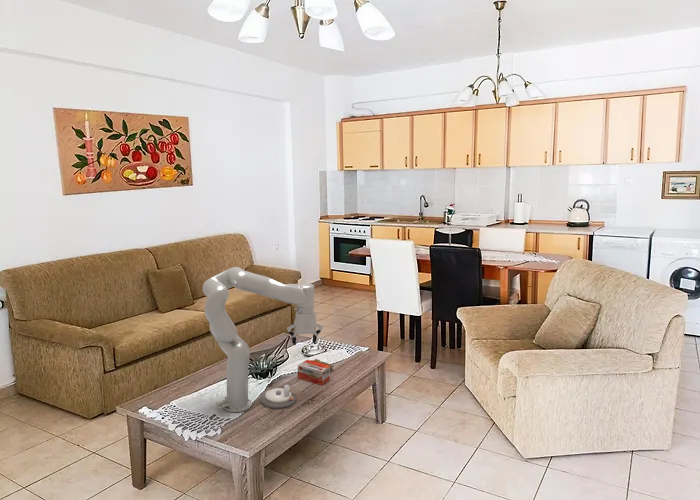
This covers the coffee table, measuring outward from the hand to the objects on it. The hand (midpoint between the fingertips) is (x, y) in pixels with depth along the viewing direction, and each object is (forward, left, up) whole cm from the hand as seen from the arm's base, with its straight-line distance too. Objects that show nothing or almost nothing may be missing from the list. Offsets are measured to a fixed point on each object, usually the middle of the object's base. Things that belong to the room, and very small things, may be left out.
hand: (304, 343), depth 247 cm
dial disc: (-15, -2, -23) cm, 27 cm away
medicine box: (+12, +8, -25) cm, 29 cm away
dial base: (-15, -1, -24) cm, 29 cm away
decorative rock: (+22, +17, -25) cm, 37 cm away
